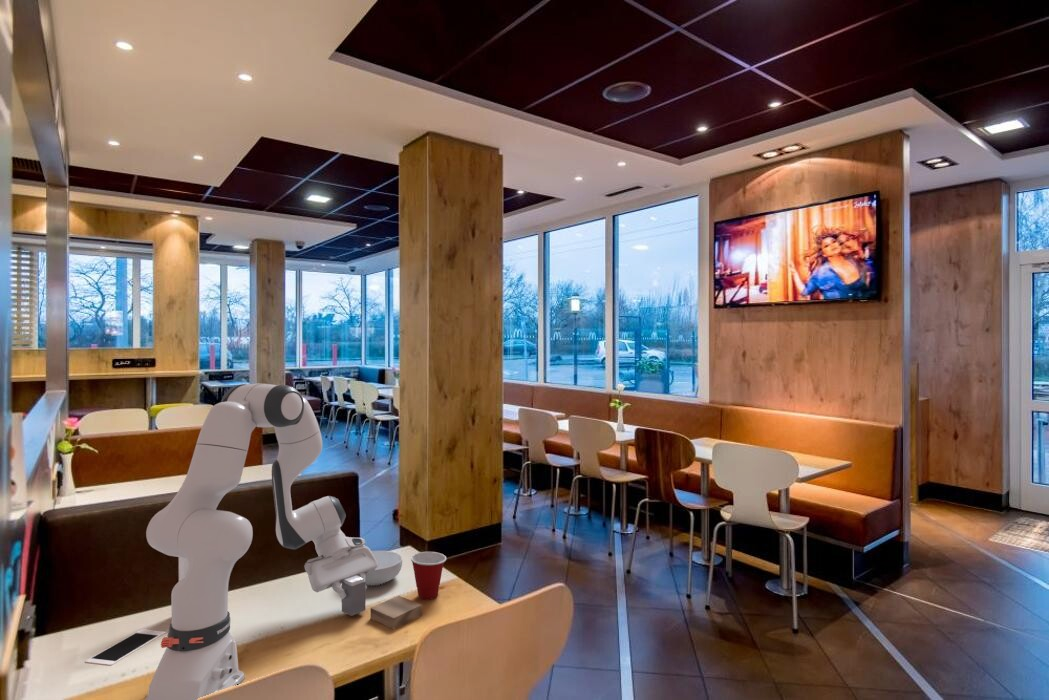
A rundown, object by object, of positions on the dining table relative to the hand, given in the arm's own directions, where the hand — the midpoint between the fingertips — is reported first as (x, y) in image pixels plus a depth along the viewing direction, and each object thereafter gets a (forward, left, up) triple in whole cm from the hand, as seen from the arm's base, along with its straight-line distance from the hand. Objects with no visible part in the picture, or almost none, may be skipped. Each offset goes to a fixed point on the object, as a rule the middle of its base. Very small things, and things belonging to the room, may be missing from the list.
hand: (355, 593), depth 160 cm
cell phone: (-11, +54, -7) cm, 56 cm away
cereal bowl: (+24, -2, -6) cm, 25 cm away
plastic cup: (+11, -20, -6) cm, 23 cm away
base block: (-2, -12, -6) cm, 13 cm away
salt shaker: (0, +1, -5) cm, 5 cm away
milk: (+6, +46, -6) cm, 47 cm away
